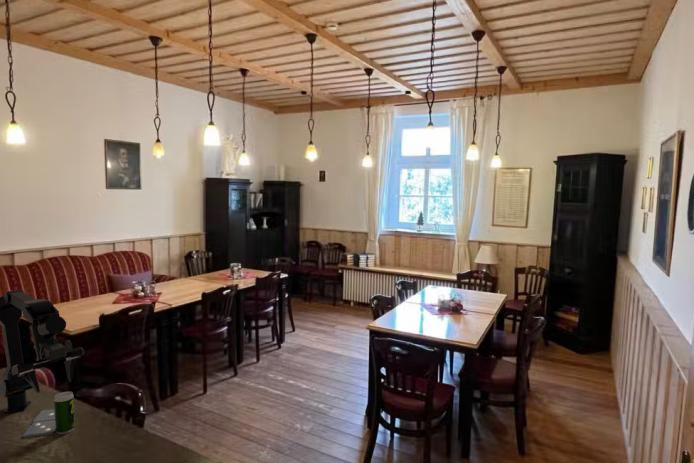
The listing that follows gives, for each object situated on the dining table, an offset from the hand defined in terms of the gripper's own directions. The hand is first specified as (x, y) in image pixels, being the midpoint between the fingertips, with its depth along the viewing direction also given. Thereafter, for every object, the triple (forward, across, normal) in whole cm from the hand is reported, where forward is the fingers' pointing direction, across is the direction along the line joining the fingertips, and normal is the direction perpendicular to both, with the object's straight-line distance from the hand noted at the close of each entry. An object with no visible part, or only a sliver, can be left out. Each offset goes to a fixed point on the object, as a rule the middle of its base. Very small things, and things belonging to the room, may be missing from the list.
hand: (55, 386), depth 136 cm
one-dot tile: (+10, +4, +18) cm, 21 cm away
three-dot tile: (+12, -2, +12) cm, 17 cm away
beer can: (+15, +2, +6) cm, 16 cm away
